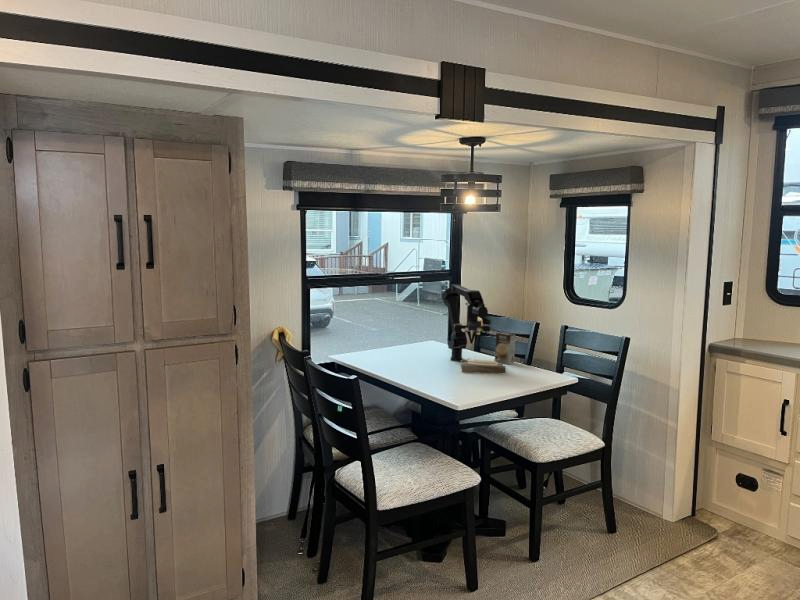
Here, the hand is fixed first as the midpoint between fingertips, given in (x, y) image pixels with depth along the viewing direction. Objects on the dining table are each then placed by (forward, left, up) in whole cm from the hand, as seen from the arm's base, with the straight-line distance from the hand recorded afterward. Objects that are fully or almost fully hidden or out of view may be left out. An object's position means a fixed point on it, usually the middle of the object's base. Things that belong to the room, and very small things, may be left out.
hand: (471, 343), depth 315 cm
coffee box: (-11, +19, -12) cm, 25 cm away
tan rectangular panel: (+5, +6, -10) cm, 13 cm away
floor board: (+6, +6, -12) cm, 15 cm away
